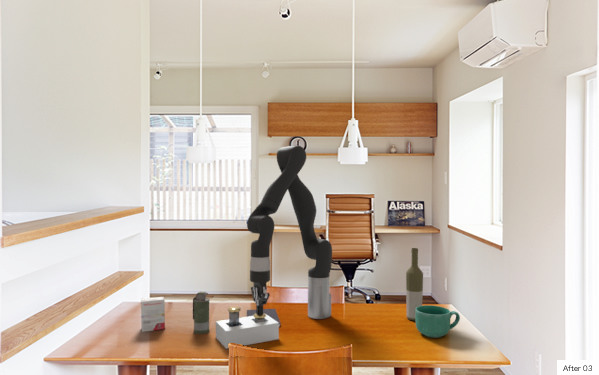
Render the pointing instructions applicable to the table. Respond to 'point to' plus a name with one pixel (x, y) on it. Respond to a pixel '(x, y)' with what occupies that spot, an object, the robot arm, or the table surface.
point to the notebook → (269, 312)
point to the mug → (434, 320)
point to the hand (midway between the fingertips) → (259, 314)
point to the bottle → (413, 286)
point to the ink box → (152, 314)
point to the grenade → (201, 313)
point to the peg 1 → (234, 316)
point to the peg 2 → (259, 318)
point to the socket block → (247, 331)
